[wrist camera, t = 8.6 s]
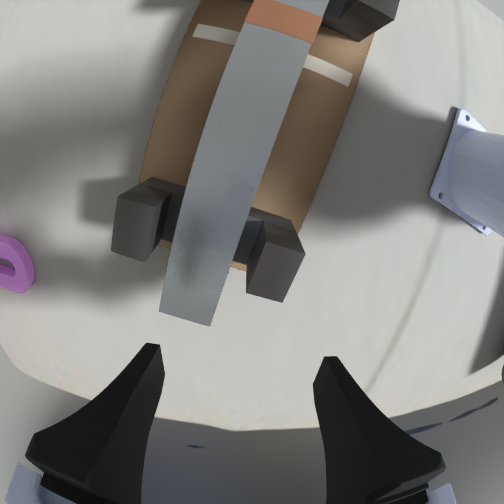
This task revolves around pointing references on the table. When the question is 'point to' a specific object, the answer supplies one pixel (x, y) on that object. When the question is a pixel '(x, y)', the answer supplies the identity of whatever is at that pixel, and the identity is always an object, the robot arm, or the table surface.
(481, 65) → the table surface
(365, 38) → the board
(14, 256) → the bracket
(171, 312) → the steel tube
